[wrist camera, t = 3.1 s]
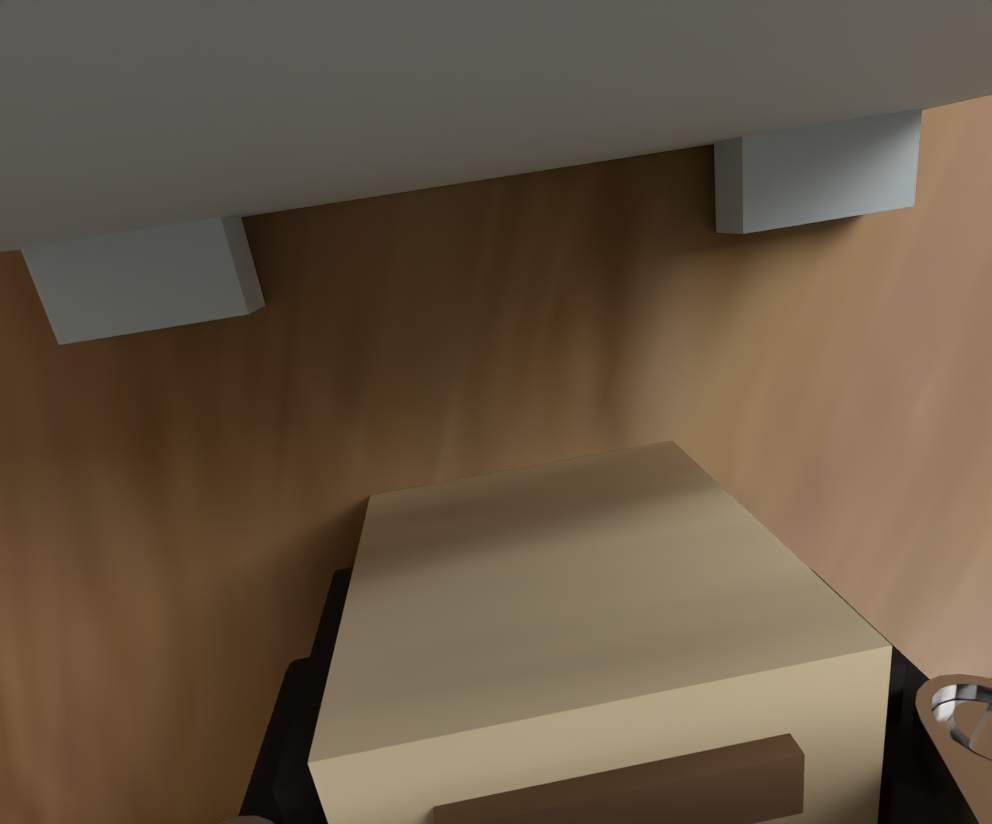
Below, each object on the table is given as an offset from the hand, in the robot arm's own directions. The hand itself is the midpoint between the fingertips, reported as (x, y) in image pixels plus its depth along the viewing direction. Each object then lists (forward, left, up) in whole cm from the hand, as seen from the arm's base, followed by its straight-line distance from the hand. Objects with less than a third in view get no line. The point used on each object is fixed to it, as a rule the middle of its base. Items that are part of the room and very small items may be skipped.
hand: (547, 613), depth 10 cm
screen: (-8, 0, 0) cm, 8 cm away
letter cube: (0, 0, -1) cm, 1 cm away
